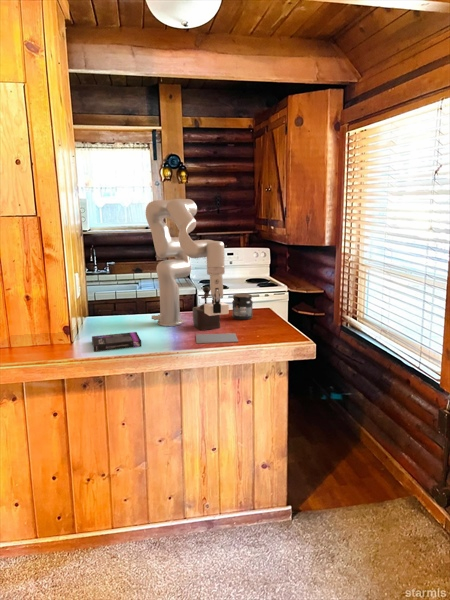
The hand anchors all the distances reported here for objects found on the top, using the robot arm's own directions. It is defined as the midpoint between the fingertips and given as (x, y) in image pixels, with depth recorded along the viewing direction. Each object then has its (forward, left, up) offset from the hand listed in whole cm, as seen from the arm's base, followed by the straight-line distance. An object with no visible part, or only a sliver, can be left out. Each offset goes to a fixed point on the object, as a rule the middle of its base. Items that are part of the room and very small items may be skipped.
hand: (216, 310), depth 193 cm
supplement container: (+16, +34, -13) cm, 40 cm away
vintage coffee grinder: (-4, +22, -13) cm, 26 cm away
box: (-43, -2, -14) cm, 45 cm away
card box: (0, 0, -1) cm, 1 cm away
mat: (0, 0, -13) cm, 13 cm away
